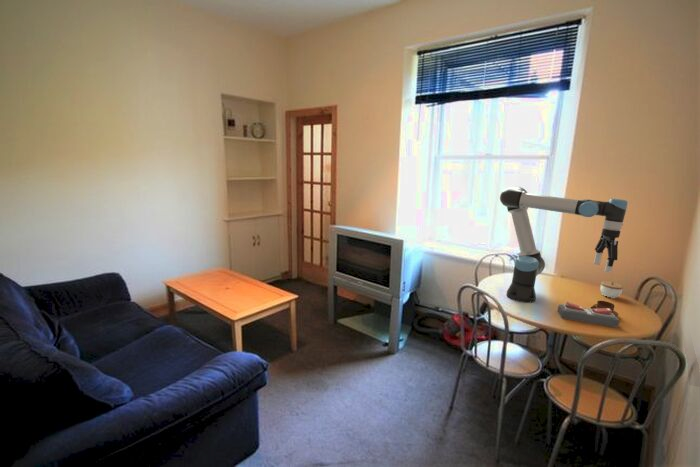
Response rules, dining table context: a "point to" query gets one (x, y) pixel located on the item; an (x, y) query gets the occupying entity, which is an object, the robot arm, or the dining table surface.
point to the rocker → (574, 306)
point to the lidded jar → (611, 289)
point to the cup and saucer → (605, 306)
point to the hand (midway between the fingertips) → (601, 268)
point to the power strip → (588, 316)
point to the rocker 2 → (602, 310)
